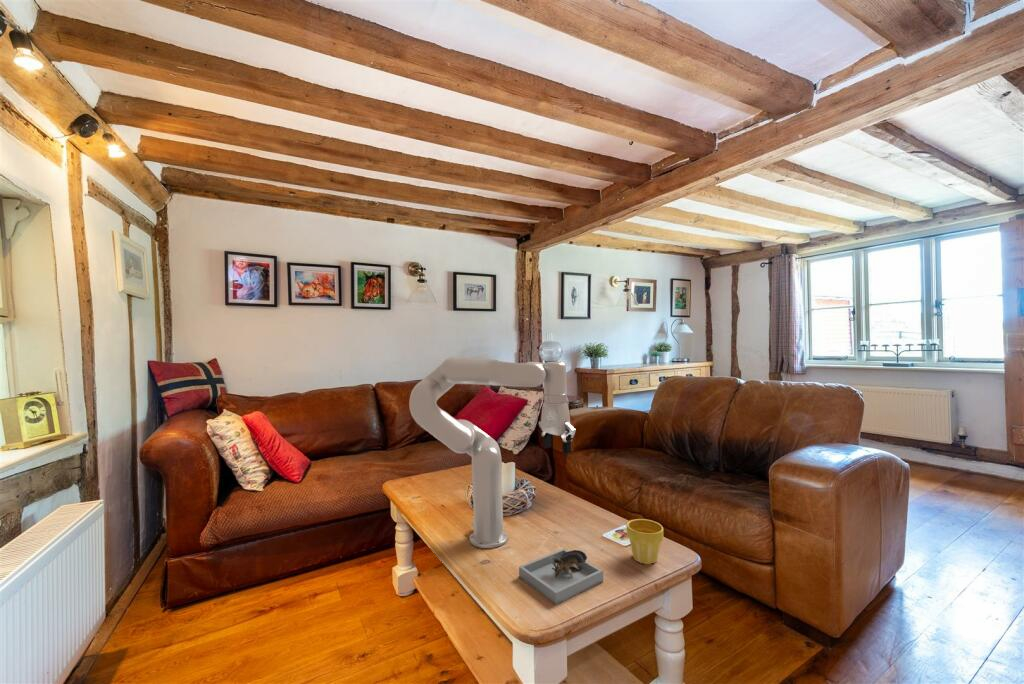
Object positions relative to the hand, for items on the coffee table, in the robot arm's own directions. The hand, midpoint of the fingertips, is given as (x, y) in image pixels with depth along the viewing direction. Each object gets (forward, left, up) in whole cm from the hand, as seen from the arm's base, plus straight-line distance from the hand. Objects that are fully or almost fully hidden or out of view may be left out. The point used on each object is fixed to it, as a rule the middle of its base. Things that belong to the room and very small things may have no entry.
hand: (556, 450), depth 144 cm
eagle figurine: (+20, -14, -28) cm, 37 cm away
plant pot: (+27, +10, -28) cm, 41 cm away
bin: (+20, -17, -28) cm, 39 cm away
